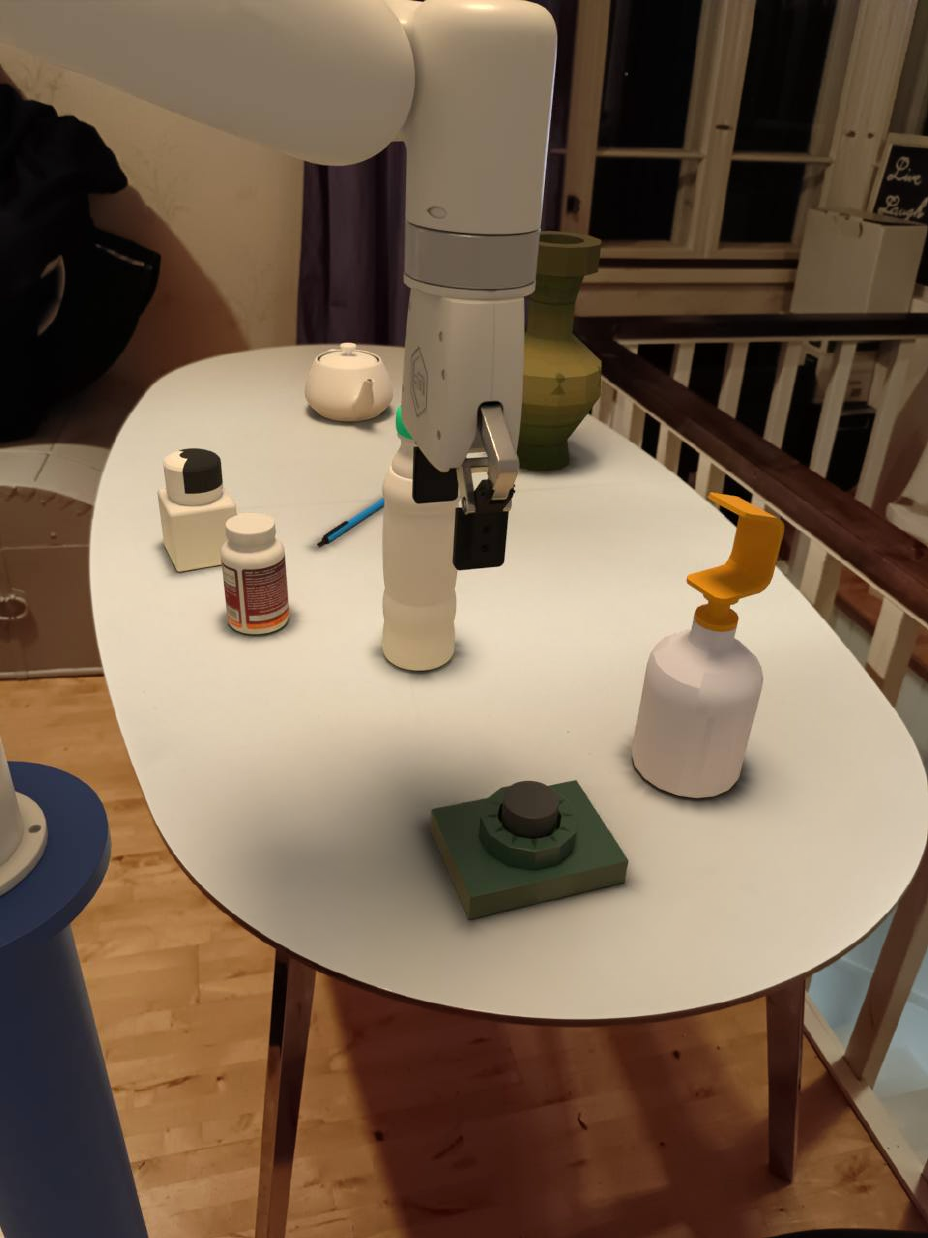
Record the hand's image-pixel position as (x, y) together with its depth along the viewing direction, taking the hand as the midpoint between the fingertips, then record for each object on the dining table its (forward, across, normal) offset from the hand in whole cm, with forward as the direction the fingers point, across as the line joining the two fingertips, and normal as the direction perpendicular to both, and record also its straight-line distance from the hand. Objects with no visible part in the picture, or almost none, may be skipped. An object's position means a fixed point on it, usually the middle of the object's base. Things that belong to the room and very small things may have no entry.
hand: (455, 531), depth 63 cm
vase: (+24, -66, +34) cm, 78 cm away
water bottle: (+24, -21, +4) cm, 32 cm away
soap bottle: (+24, 0, +22) cm, 32 cm away
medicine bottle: (+24, -47, -15) cm, 55 cm away
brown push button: (+20, +7, +5) cm, 22 cm away
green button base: (+24, +7, +5) cm, 25 cm away
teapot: (+24, -90, +11) cm, 93 cm away
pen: (+24, -52, +5) cm, 58 cm away
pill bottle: (+24, -31, -10) cm, 41 cm away
